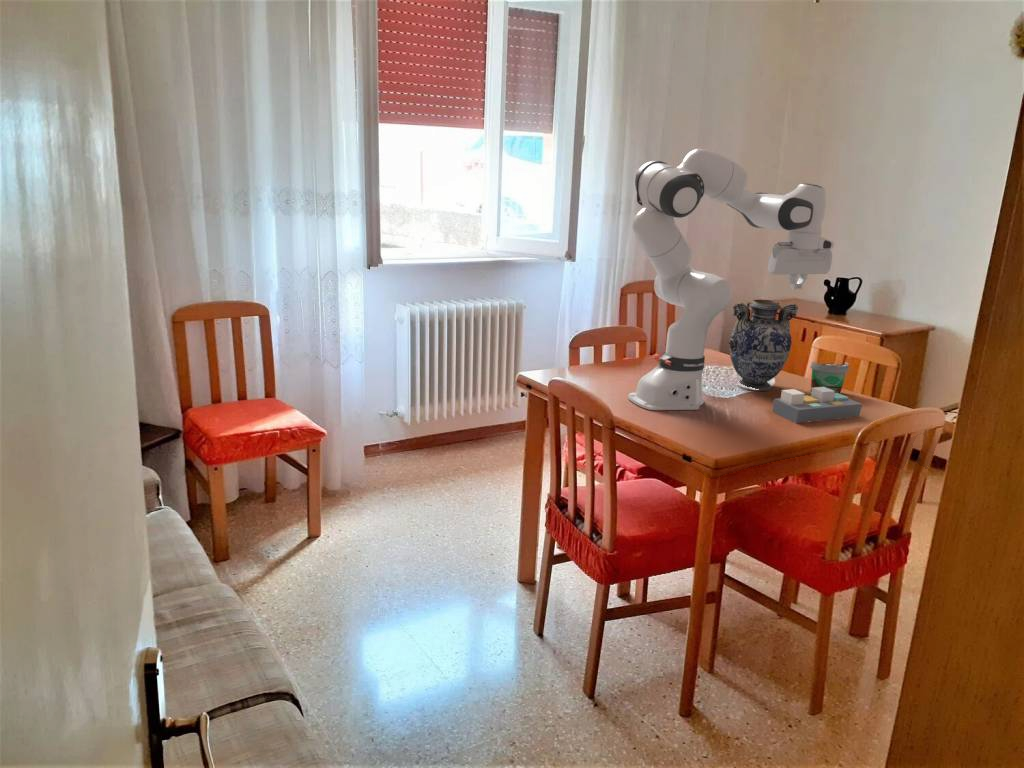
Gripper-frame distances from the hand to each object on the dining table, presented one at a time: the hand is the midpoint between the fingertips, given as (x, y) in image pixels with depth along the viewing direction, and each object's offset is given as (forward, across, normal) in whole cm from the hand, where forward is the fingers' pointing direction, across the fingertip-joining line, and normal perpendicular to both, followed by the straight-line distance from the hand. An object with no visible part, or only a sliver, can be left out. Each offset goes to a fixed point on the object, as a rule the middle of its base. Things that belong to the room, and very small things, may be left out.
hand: (795, 289), depth 221 cm
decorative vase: (+34, +1, +13) cm, 37 cm away
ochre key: (+33, -2, -13) cm, 36 cm away
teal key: (+33, +9, -13) cm, 37 cm away
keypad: (+34, +1, -15) cm, 37 cm away
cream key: (+31, -7, -13) cm, 34 cm away
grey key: (+31, +4, -13) cm, 34 cm away
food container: (+34, +20, 0) cm, 40 cm away
